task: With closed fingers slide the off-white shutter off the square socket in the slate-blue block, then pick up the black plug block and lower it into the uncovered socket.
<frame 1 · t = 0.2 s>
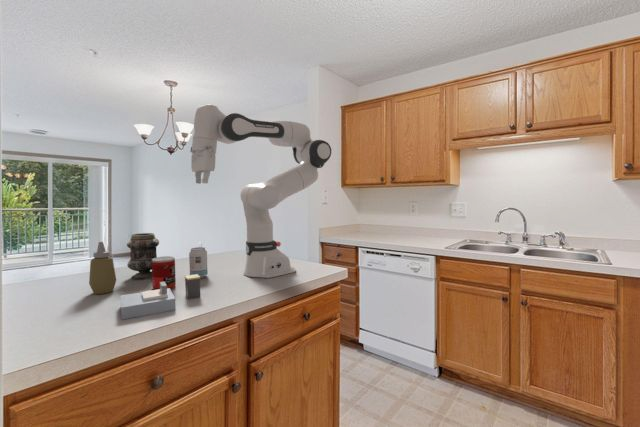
hand: (201, 183, 125), 39 cm above the table, tool pointing down, fingers open, 8 cm apart
beverage can: (198, 277, 135), on the table
plug: (193, 296, 111), on the table
apothecary jar: (144, 276, 135), on the table
canned food: (164, 288, 120), on the table
squeeze bottle: (103, 292, 115), on the table
socket block: (147, 308, 100), on the table
shutter: (154, 290, 101), point 5 cm above the table, slide at 0.0 cm
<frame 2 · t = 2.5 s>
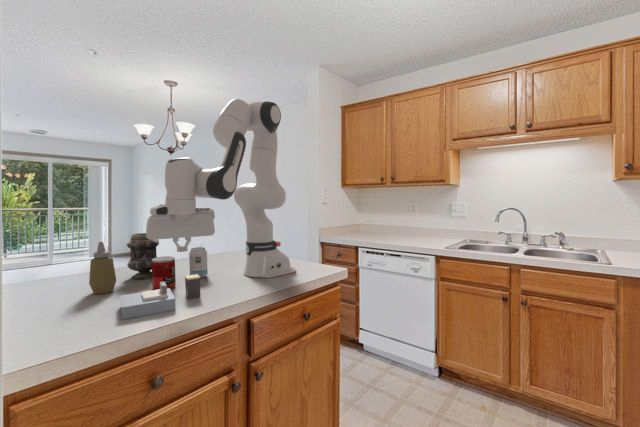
hand: (182, 251, 104), 17 cm above the table, tool pointing down, fingers closed
nothing on the table moved.
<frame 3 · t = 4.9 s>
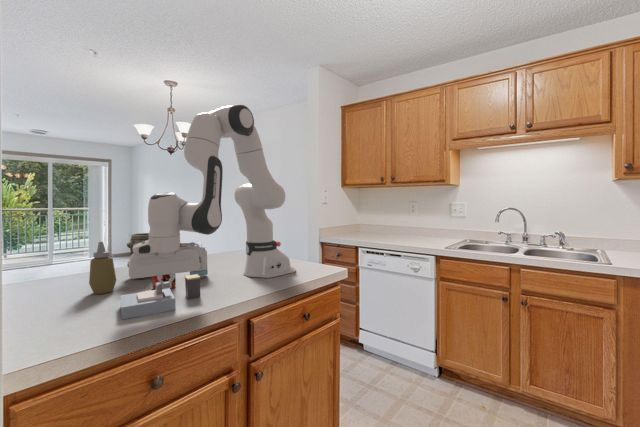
hand: (166, 288, 102), 5 cm above the table, tool pointing down, fingers closed
shutter: (149, 291, 100), point 5 cm above the table, slide at 1.3 cm, touching gripper
everything else where it was.
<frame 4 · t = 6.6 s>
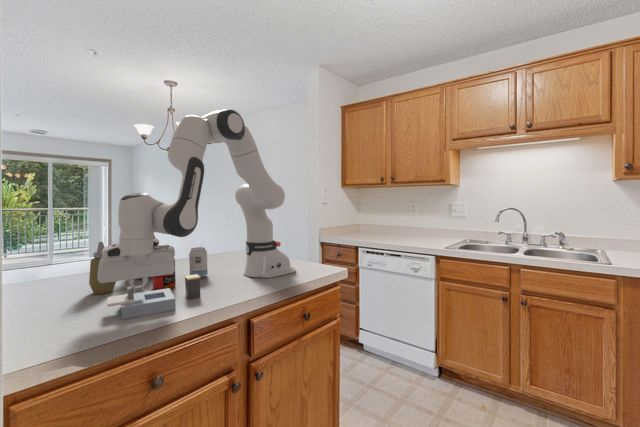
hand: (138, 292, 98), 5 cm above the table, tool pointing down, fingers closed
shutter: (120, 295, 96), point 5 cm above the table, slide at 8.9 cm, touching gripper
everything else where it was.
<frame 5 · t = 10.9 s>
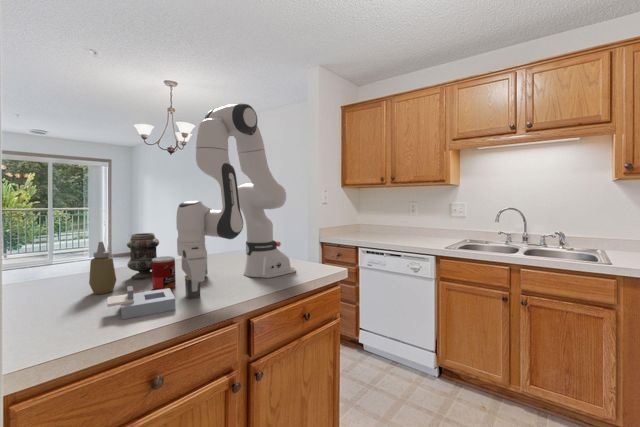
hand: (192, 288, 111), 3 cm above the table, tool pointing down, fingers closed on plug, 4 cm apart
plug: (193, 296, 111), on the table, touching gripper
shutter: (120, 295, 96), point 5 cm above the table, slide at 9.0 cm
everything else where it was.
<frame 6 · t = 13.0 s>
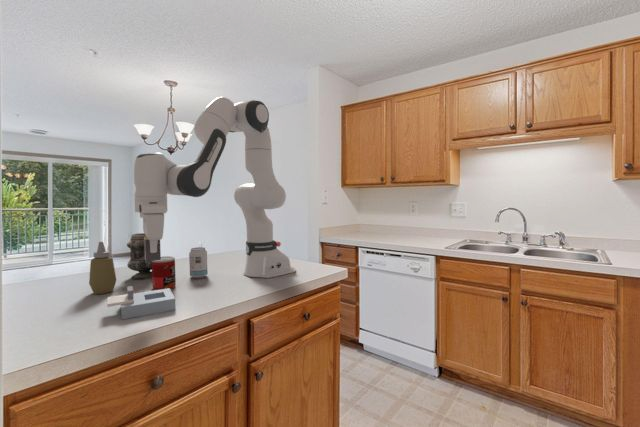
hand: (152, 251, 99), 18 cm above the table, tool pointing down, fingers closed on plug, 4 cm apart
plug: (152, 259, 100), point 15 cm above the table, touching gripper
everything else where it was.
when the fingers open (4 cm above the table, at t = 15.3 s): plug drops 2 cm, resting in socket block.
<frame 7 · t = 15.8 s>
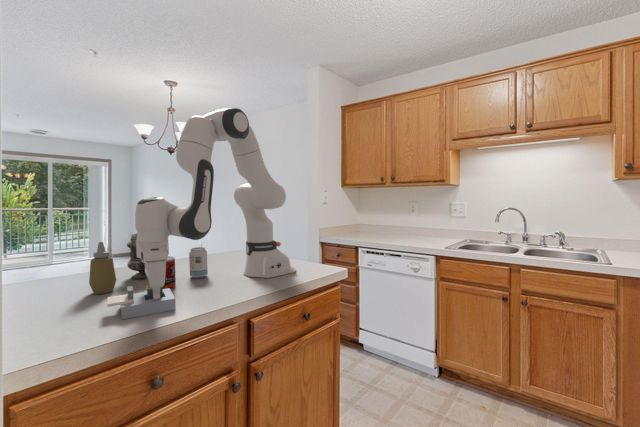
hand: (154, 293, 101), 4 cm above the table, tool pointing down, fingers open, 8 cm apart
plug: (155, 306, 101), resting in socket block
everything else where it was.
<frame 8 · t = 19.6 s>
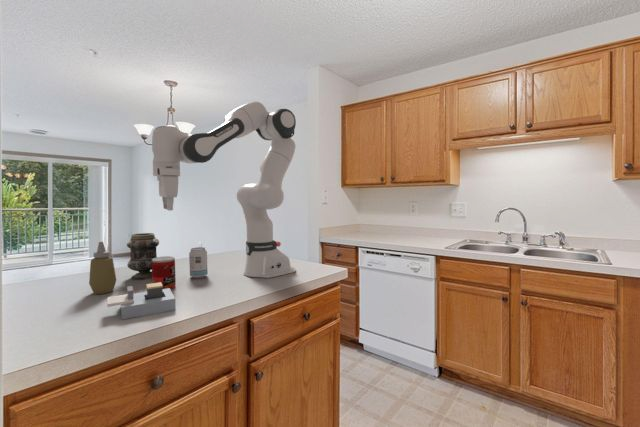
hand: (168, 209, 117), 29 cm above the table, tool pointing down, fingers open, 8 cm apart
nothing on the table moved.
at the end: plug 0.1 cm from the target spot on the socket block, point 0.0 cm above the socket block's base; shutter slide at 9.0 cm; the gripper is holding nothing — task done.
